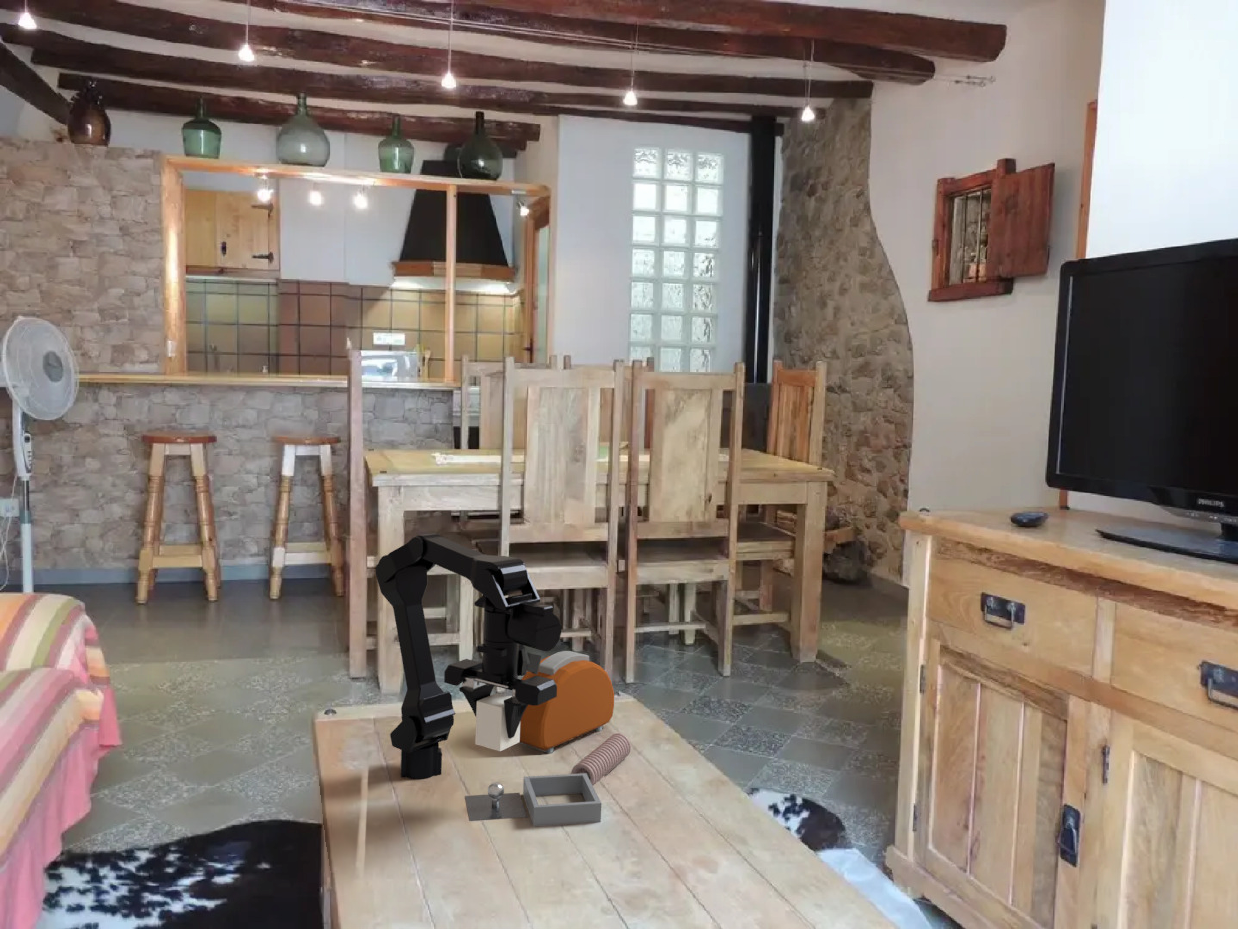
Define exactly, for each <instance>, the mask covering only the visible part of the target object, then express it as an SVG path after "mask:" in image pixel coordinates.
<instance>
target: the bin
mask: <svg viewBox="0 0 1238 929" xmlns="http://www.w3.org/2000/svg"><path fill="white" fill-rule="evenodd" d="M590 780H591V779H590V778H589V775H588V773H580V774H571V773H568V774H567V773H566V774H549V775H548V774H546V775H530V776H523V785H522V796H523V798H524V801H525V802H524V803H525V805H526V807H527V811H528V814H529V817H530V820H531V823H532V827H548V826H563V825H564V826H565V825H575V824H591V823H593V824H594V823H601V820H602V800H600V797H599V795H598V793H597V792H596V789H595V787H594V785H592V783H591V781H590ZM570 794H573V795H574V794H582V796H583V799H584V800H585V801H580V802H579V801H577V802H576V801H575V802H566V803H565V802H564V803H563V802H561V803H549V804H539V802H538V798H537V797H539V796H541V797H542V796H552V795H553V796H554V795H557V796H558V795H570Z"/></svg>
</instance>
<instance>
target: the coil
mask: <svg viewBox="0 0 1238 929" xmlns="http://www.w3.org/2000/svg"><path fill="white" fill-rule="evenodd" d="M631 749H632V745H631V741H630V739H629V737H628V736H626V735H625V734H623V733H620V732H618V733H616V732H615V733H613V734H612V735H611V736H610V737H609V738H607V739H606V740H605V741H603V742H602V743H601V744H599V745H598V746H597V747H596V748H595V749H594V750H592V751H591V752H590V753H589V754H588V755H586V756H585V757H584V758H582V759H581V760H580V761H579V762H578V763H576V764H575V765H574V766H573V767H572V769H571V773H570V774H580V773H586V774H589V776H590V779H589V780H590V781H591V783H592V785H593V786H594V785H596V784H597V783H598V782H599V781H600V780H601V779H602V778H603V777H606V776H607V775H608V774H609V773H611V771H612V770H613V769H615V767H617V766H618V765H619V764H620V763H622V761H624V759H626V758H627V757H628V756H629V755H630V753H631V751H632V750H631Z"/></svg>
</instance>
